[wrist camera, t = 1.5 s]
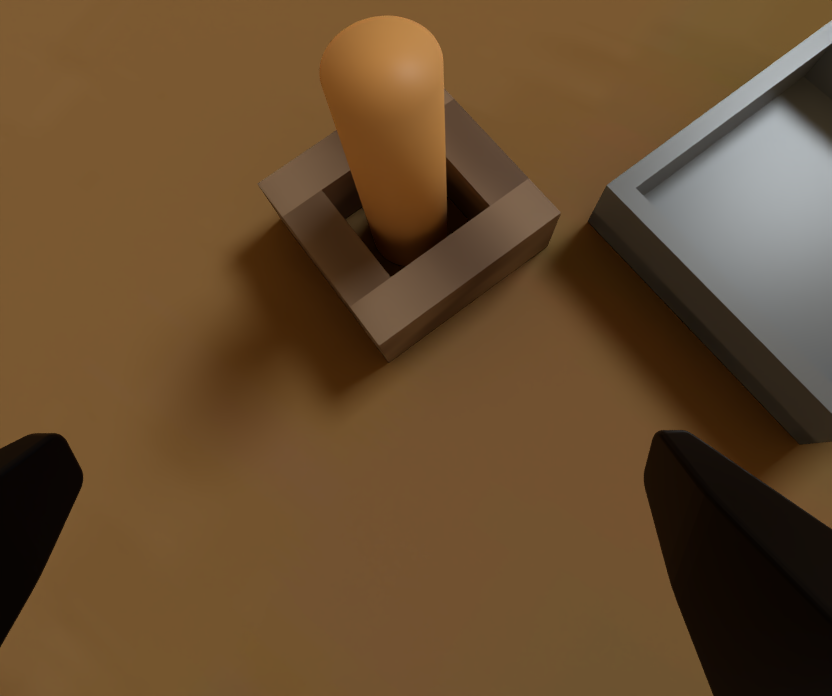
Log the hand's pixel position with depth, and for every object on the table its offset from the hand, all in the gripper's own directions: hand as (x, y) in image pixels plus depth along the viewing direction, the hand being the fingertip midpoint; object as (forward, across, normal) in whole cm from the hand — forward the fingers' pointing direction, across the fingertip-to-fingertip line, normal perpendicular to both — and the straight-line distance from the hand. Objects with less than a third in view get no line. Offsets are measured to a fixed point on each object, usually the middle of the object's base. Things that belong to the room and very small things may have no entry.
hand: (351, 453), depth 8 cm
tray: (+17, -17, +3) cm, 24 cm away
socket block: (+18, 0, +2) cm, 18 cm away
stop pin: (+18, 0, +2) cm, 18 cm away
